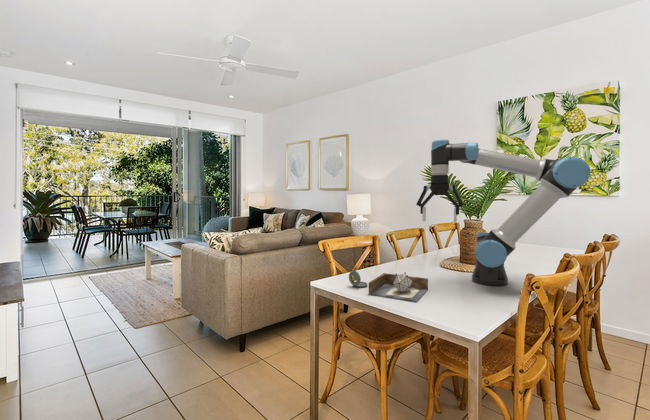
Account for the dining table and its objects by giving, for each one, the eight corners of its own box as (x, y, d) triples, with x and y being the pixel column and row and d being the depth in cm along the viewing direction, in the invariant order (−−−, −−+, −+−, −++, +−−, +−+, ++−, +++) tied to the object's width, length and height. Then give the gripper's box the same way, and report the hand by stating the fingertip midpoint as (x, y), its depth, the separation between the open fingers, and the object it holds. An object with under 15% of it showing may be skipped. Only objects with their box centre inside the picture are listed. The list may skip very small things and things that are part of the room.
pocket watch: (368, 284, 155) (368, 262, 154) (365, 289, 147) (365, 267, 146) (350, 283, 157) (350, 262, 157) (347, 288, 149) (347, 266, 149)
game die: (407, 301, 139) (417, 286, 133) (387, 294, 140) (396, 279, 134) (408, 286, 147) (417, 271, 141) (389, 279, 147) (398, 263, 141)
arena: (427, 290, 145) (428, 278, 145) (416, 302, 130) (416, 289, 129) (383, 284, 155) (383, 273, 155) (368, 294, 140) (368, 282, 139)
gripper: (470, 174, 148) (470, 222, 150) (414, 175, 161) (414, 219, 162) (468, 173, 142) (467, 223, 143) (409, 175, 154) (409, 221, 156)
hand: (439, 221), depth 153 cm, fingers open, 13 cm apart
